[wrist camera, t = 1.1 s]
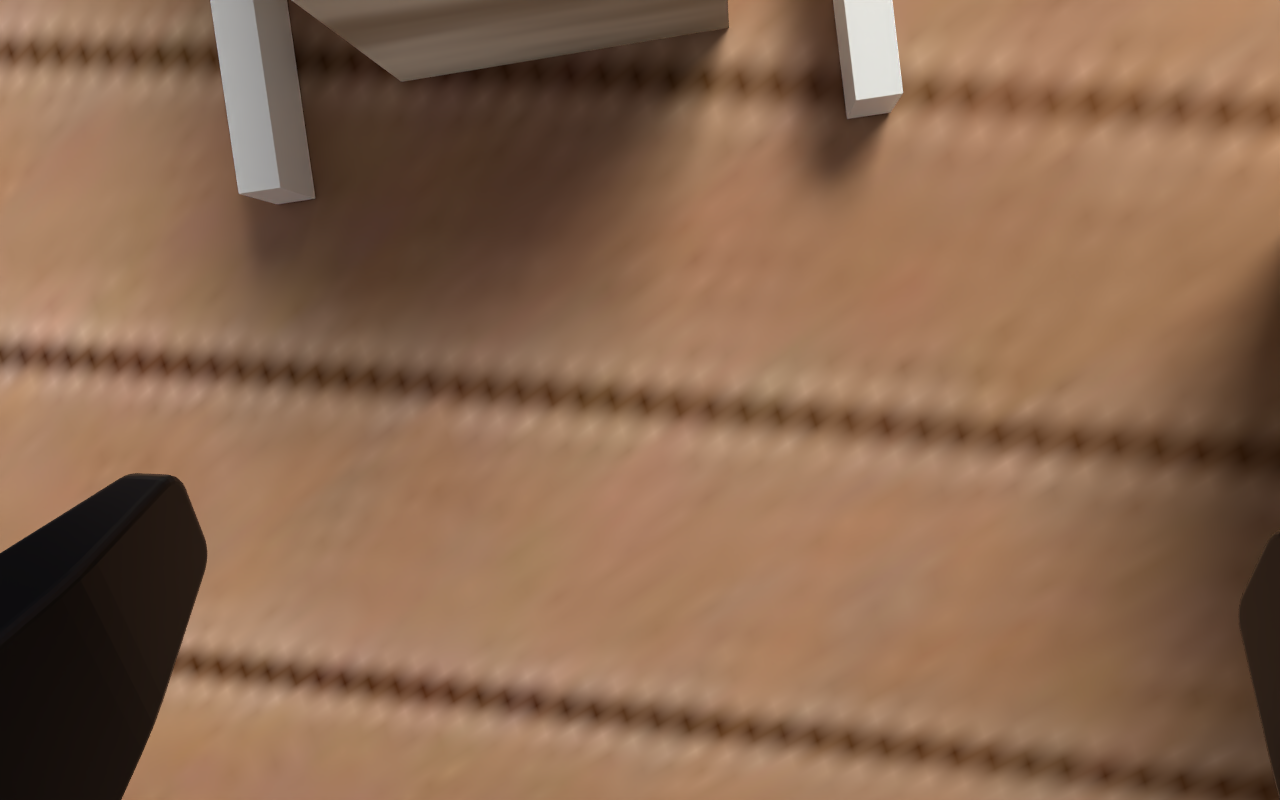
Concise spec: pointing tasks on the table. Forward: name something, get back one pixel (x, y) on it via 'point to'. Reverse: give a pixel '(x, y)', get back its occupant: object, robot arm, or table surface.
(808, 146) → the table surface
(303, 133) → the low angular wall frame
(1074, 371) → the table surface
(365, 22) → the birch block
